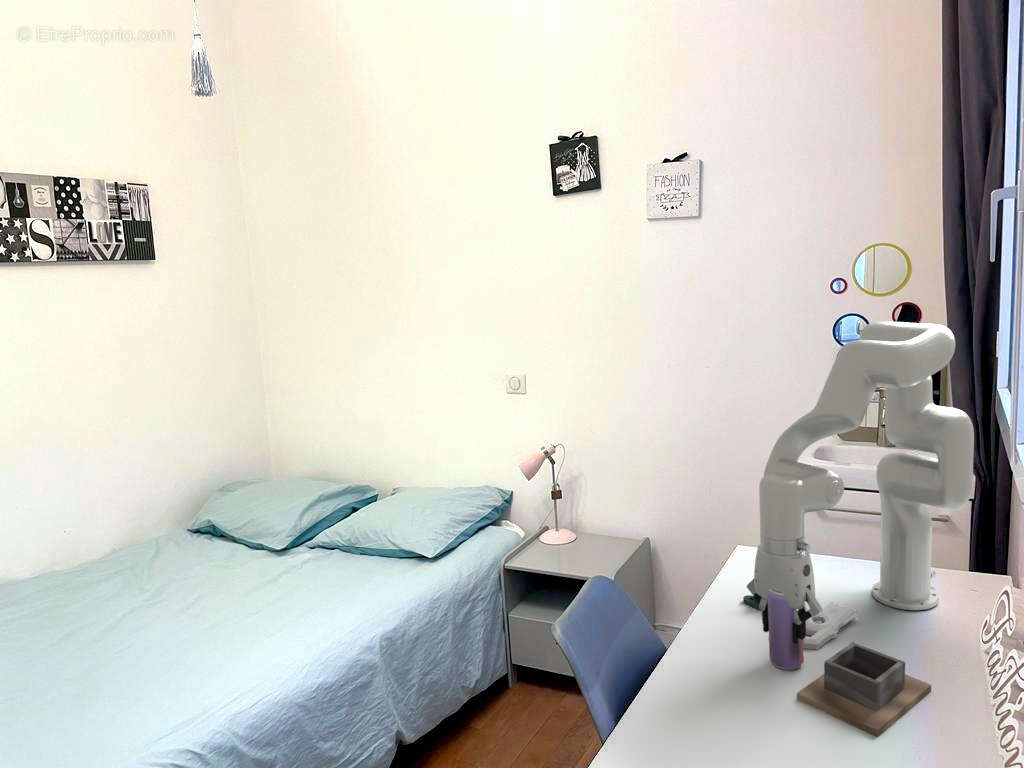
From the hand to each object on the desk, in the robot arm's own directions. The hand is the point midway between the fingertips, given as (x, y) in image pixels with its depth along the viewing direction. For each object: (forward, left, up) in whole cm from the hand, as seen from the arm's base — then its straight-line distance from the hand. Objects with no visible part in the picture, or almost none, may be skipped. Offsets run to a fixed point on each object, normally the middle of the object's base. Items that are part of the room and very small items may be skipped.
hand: (783, 634), depth 142 cm
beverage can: (0, 0, -6) cm, 6 cm away
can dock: (-1, +15, -6) cm, 16 cm away
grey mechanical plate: (-15, -3, -6) cm, 16 cm away
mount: (-16, -14, -6) cm, 23 cm away
